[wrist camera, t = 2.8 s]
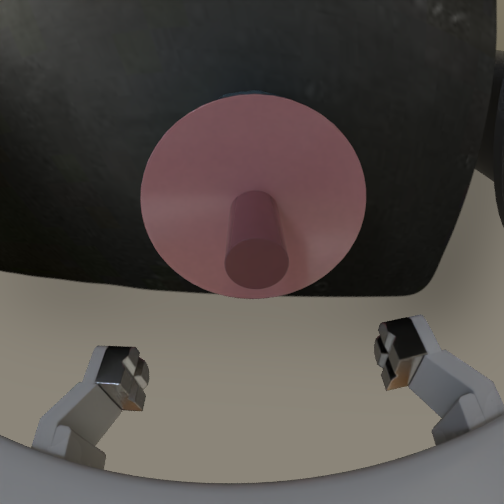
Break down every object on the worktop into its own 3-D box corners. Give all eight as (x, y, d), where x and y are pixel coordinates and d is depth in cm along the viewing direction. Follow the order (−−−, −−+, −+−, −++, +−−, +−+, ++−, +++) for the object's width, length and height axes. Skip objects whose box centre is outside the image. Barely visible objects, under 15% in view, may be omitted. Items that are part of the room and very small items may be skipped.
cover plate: (360, 87, 14) (414, 101, 9) (353, 277, 22) (379, 340, 16) (122, 117, 15) (68, 145, 10) (175, 296, 22) (160, 361, 17)
